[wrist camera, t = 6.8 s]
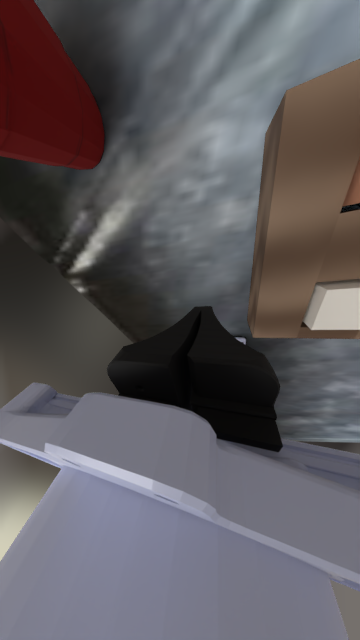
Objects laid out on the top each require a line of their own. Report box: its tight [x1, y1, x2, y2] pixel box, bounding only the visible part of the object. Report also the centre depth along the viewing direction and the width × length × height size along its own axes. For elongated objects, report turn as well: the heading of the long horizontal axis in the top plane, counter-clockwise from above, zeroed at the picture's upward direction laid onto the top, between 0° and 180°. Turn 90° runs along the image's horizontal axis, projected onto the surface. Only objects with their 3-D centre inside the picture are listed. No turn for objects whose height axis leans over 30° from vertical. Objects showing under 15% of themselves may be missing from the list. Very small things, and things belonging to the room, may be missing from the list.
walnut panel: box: [247, 59, 360, 339], centre depth 12 cm, size 18×14×4 cm
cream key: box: [303, 279, 360, 330], centre depth 13 cm, size 4×4×4 cm
